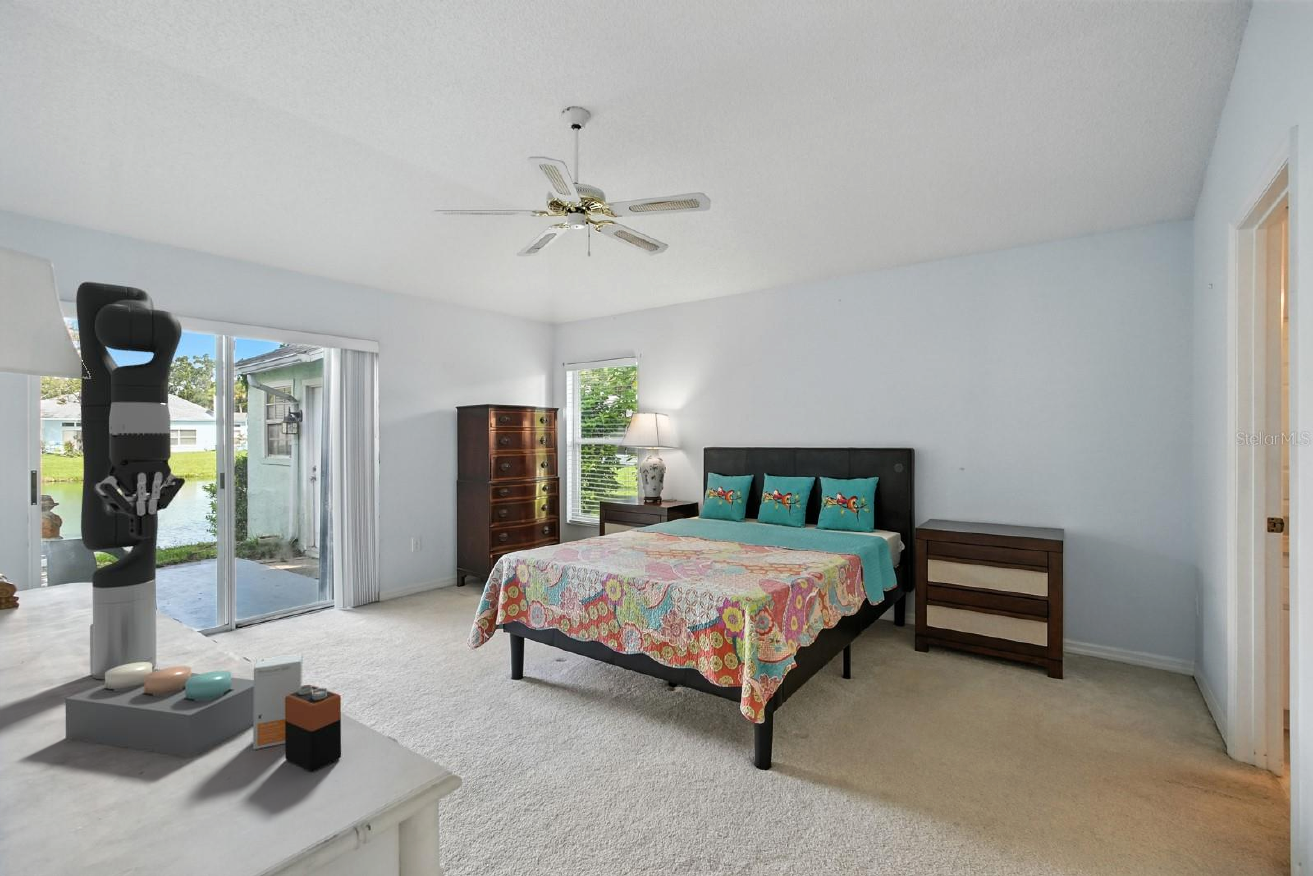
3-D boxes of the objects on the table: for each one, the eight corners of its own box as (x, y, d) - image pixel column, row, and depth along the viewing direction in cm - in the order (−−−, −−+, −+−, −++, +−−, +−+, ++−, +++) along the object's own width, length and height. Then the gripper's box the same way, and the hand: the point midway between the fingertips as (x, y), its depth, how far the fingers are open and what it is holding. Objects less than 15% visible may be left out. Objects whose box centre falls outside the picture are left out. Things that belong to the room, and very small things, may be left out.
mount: (65, 738, 90) (65, 698, 90) (150, 703, 102) (149, 668, 102) (190, 757, 85) (190, 715, 85) (264, 718, 96) (264, 681, 96)
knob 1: (96, 722, 93) (95, 674, 93) (135, 706, 99) (134, 660, 99) (123, 726, 92) (122, 677, 92) (161, 710, 97) (160, 663, 97)
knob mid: (135, 727, 91) (134, 678, 91) (172, 711, 97) (172, 665, 97) (163, 732, 90) (163, 682, 90) (200, 715, 95) (199, 668, 95)
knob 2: (176, 733, 89) (175, 683, 89) (212, 716, 95) (211, 669, 95) (205, 738, 88) (205, 687, 88) (240, 720, 94) (240, 672, 94)
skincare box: (252, 751, 86) (252, 668, 86) (256, 738, 90) (256, 658, 90) (301, 741, 89) (301, 660, 89) (303, 729, 93) (302, 651, 93)
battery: (311, 774, 80) (311, 699, 80) (283, 760, 84) (283, 689, 84) (342, 759, 84) (342, 687, 84) (314, 746, 88) (314, 678, 88)
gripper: (165, 431, 104) (165, 531, 105) (75, 431, 92) (76, 544, 92) (199, 431, 103) (199, 532, 103) (112, 430, 90) (113, 546, 90)
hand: (141, 538), depth 97 cm, fingers closed
